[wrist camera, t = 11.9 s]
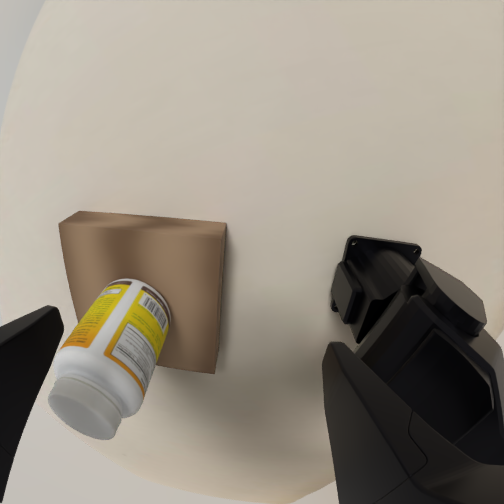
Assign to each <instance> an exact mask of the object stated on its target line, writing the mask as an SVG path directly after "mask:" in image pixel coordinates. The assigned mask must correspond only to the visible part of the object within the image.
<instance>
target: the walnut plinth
mask: <svg viewBox="0 0 504 504" xmlns="http://www.w3.org/2000/svg"><path fill="white" fill-rule="evenodd" d="M59 232H60V239H61V245H62V252H63V257H64V263H65V268H66V273H67V278H68V283H69V288H70V292H71V296H72V300H73V304H74V308H75V312H76V316H77V320H78V323H79V322H80V320H81V319H82V318H83V316H84V315H85V314H86V312H87V311H88V310H89V308H90V307H91V306H92V304H93V303H94V302H95V300H96V299H97V298H98V296H99V295H100V294H101V293H102V291H103V290H104V289H105V288H106V287H107V286H108V285H109V284H110V283H111V282H113V281H116V280H119V279H135V280H139V281H142V282H144V283H146V284H148V285H149V286H151V287H152V288H154V289H155V290H156V291H157V292H158V293H159V294H160V295H161V296H162V297H163V299H164V300H165V302H166V303H167V305H168V308H169V311H170V317H171V322H170V327H169V330H168V333H167V335H166V338H165V341H164V343H163V346H162V349H161V352H160V354H159V357H158V360H157V363H156V365H158V366H163V367H169V368H175V369H181V370H188V371H195V372H202V373H210V374H215V368H216V362H217V356H218V348H219V328H220V310H221V293H222V277H223V261H224V247H225V233H226V223H221V222H210V221H200V220H189V219H178V218H166V217H154V216H142V215H129V214H116V213H102V212H87V211H78V212H77V213H75V214H73V215H72V216H70V217H68V218H67V219H65V220H64V221H62V222H60V223H59Z"/></svg>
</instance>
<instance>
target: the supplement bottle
mask: <svg viewBox="0 0 504 504" xmlns="http://www.w3.org/2000/svg"><path fill="white" fill-rule="evenodd" d="M170 322H171V317H170V311H169V308H168V305H167V303H166V302H165V300H164V299H163V297H162V296H161V295H160V294H159V293H158V292H157V291H156V290H155V289H154V288H152V287H151V286H149V285H148V284H146V283H144V282H142V281H139V280H135V279H119V280H116V281H113V282H111V283H110V284H109V285H108V286H107V287H106V288H105V289H104V290H103V291H102V293H101V294H100V295H99V296H98V298H97V299H96V300H95V302H94V303H93V304H92V306H91V307H90V308H89V310H88V311H87V312H86V314H85V315H84V316H83V318H82V319H81V320H80V322H79V323H78V325H77V326H76V327H75V329H74V330H73V332H72V333H71V334H70V336H69V337H68V339H67V340H66V341H65V343H64V344H63V346H62V347H61V349H60V350H59V351H58V353H57V355H56V356H55V359H54V365H53V366H54V373H55V376H56V378H57V380H56V382H55V383H54V387H53V389H52V390H51V392H50V394H49V396H48V403H49V405H50V407H51V409H52V410H53V411H54V413H55V414H56V415H57V416H58V417H59V418H60V419H61V420H62V421H64V422H65V423H66V424H67V425H69V426H70V427H72V428H73V429H75V430H77V431H78V432H80V433H82V434H84V435H87V436H89V437H92V438H95V439H100V440H109V439H112V438H113V437H114V436H115V434H116V431H117V428H118V426H119V424H120V423H121V418H127V417H130V416H132V415H134V414H135V413H137V412H138V410H139V409H140V407H141V405H142V403H143V400H144V397H145V394H146V391H147V388H148V385H149V382H150V379H151V376H152V374H153V371H154V368H155V365H156V363H157V360H158V357H159V354H160V352H161V349H162V346H163V343H164V341H165V338H166V335H167V333H168V330H169V327H170Z"/></svg>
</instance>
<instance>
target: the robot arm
mask: <svg viewBox="0 0 504 504" xmlns="http://www.w3.org/2000/svg"><path fill="white" fill-rule="evenodd" d="M353 241H357V242H356V244H355V245H352V242H353ZM415 249H417V251H416V252H414V250H415ZM421 251H422V249H421V247H420V246H419V245H417V244H413V243H407V242H400V241H393V240H386V239H378V238H371V237H364V236H356V235H352V236H350V237H349V238H348V240H347V243H346V247H345V252H344V256H343V260H342V261H341V262H340V263H339V264H338V267H337V271H336V275H335V279H334V282H333V286H332V290H331V292H332V295H333V297H332V301H331V309H332V311H334V312H339V313H340V316H341V319H342V321H343V322H344V324H349V325H350V328H351V330H352V333H353V335H354V338H355V341H356V343H358V344H359V345H358V346H357V348H356V349H355V350H354V351H353V352H352V351H351V350H350V349H349V348H348V347H347V346H346V345H345V344H344V343H343V342H330V343H329V344H328V347H327V350H326V353H325V356H324V359H323V362H322V374H323V391H324V408H325V415H326V421H327V427H328V433H329V439H330V445H331V451H332V457H333V464H334V471H335V477H336V484H337V491H338V499H339V504H504V358H503V353H502V349H501V347H500V346H499V344H498V343H497V342H496V341H495V340H494V339H493V338H492V337H491V336H490V335H489V334H488V333H487V331H486V330H485V329H484V326H485V325H486V323H487V319H486V314H485V309H484V304H483V301H482V300H481V299H480V298H479V297H478V296H477V295H476V294H475V293H474V292H473V291H472V290H471V289H470V288H468V287H467V286H466V285H465V284H464V283H463V282H462V281H460V280H458V279H457V278H455V277H453V276H452V275H450V274H448V273H447V272H445V271H443V270H442V269H440V268H438V267H436V266H435V265H433V264H431V263H429V262H428V261H426V260H424V259H422V258H421V257H420V255H421ZM335 305H337V307H335ZM63 332H64V325H63V322H62V319H61V315H60V312H59V310H58V308H57V307H54V306H50V305H47V306H45V307H42V308H40V309H38V310H36V311H34V312H31V313H29V314H27V315H25V316H23V317H20V318H18V319H16V320H14V321H12V322H10V323H7V324H5V325H3V326H1V327H0V503H2V501H3V496H4V493H5V489H6V485H7V481H8V477H9V474H10V470H11V467H12V463H13V460H14V456H15V453H16V450H17V447H18V444H19V441H20V439H21V436H22V433H23V430H24V428H25V425H26V422H27V420H28V417H29V415H30V412H31V409H32V407H33V405H34V402H35V400H36V398H37V395H38V393H39V391H40V388H41V386H42V384H43V382H44V380H45V377H46V375H47V373H48V371H49V369H50V366H51V364H52V361H53V358H54V356H55V353H56V350H57V348H58V345H59V343H60V340H61V338H62V335H63Z"/></svg>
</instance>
